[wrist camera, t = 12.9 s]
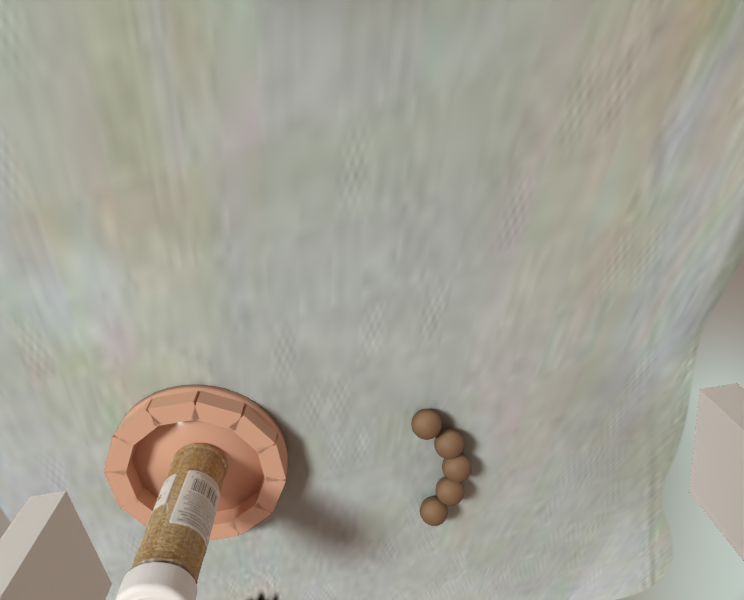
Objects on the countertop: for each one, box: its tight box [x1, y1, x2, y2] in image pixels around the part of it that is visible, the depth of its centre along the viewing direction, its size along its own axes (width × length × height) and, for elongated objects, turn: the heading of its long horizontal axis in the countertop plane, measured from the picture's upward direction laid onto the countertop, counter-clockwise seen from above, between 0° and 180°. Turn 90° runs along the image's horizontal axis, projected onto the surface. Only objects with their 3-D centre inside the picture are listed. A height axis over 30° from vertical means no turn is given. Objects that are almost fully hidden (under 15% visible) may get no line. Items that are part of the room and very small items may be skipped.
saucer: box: [104, 385, 288, 540], centre depth 45 cm, size 14×14×2 cm
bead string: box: [411, 409, 471, 526], centre depth 47 cm, size 12×5×2 cm, turn 9°
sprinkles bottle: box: [116, 443, 228, 600], centre depth 40 cm, size 5×5×14 cm
